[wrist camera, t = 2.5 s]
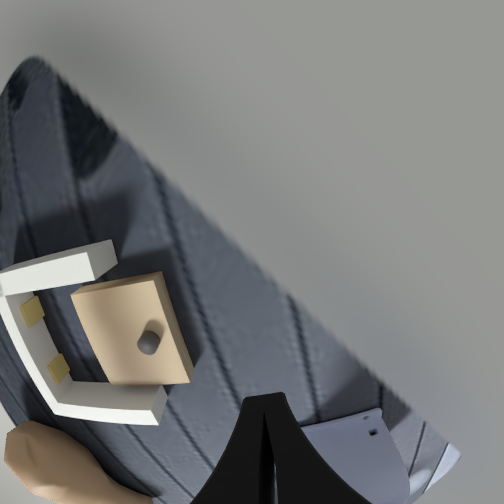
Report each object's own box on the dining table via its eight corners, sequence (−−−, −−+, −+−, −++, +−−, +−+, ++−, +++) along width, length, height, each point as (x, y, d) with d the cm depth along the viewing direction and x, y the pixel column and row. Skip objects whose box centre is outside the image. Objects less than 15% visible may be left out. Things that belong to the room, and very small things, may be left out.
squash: (34, 391, 19) (7, 453, 11) (173, 478, 26) (180, 534, 18) (7, 422, 19) (-14, 471, 11) (126, 496, 26) (127, 544, 17)
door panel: (163, 268, 16) (148, 285, 14) (195, 364, 18) (188, 390, 15) (85, 283, 17) (63, 299, 14) (121, 369, 18) (107, 392, 16)
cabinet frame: (111, 239, 15) (86, 252, 12) (167, 396, 18) (159, 424, 15) (12, 264, 16) (-13, 277, 13) (69, 393, 19) (54, 414, 16)
